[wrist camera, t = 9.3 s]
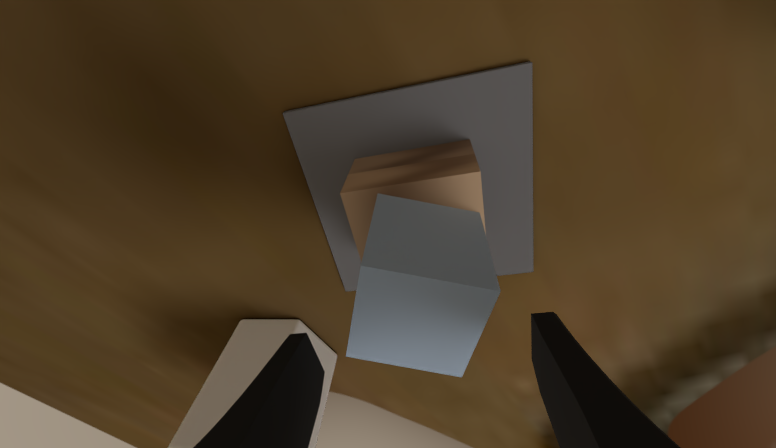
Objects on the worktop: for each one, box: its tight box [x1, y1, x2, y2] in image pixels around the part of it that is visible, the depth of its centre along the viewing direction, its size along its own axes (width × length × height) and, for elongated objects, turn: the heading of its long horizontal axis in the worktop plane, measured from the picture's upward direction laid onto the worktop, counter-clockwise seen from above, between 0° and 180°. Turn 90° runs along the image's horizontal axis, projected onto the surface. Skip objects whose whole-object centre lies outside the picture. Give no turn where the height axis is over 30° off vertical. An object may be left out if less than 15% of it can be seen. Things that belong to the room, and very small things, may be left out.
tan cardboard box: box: [349, 139, 475, 174], centre depth 19 cm, size 6×6×2 cm
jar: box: [168, 319, 337, 448], centre depth 24 cm, size 9×8×12 cm
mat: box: [283, 61, 533, 291], centre depth 20 cm, size 12×12×1 cm
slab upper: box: [340, 154, 486, 262], centre depth 18 cm, size 6×6×2 cm
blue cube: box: [346, 193, 501, 377], centre depth 15 cm, size 4×4×5 cm
